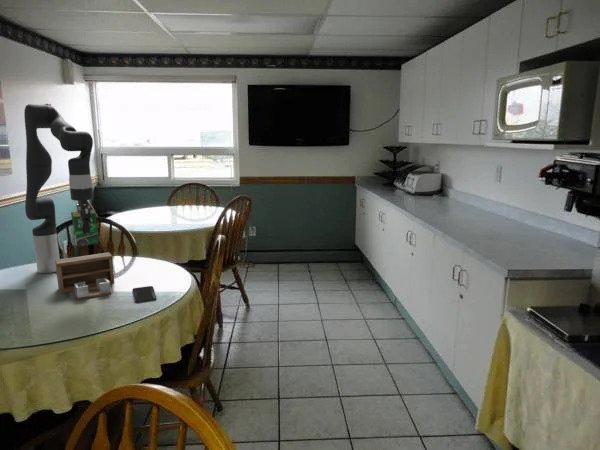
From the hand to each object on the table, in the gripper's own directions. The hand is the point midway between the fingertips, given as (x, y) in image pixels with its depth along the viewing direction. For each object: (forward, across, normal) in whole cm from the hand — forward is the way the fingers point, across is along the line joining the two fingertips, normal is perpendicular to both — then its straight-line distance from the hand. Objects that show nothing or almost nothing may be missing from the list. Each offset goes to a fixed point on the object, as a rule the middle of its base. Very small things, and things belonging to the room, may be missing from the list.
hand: (85, 232), depth 163 cm
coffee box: (+5, 0, 0) cm, 5 cm away
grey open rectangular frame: (+25, 0, 0) cm, 25 cm away
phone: (+26, +12, +16) cm, 33 cm away
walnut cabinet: (+25, -6, 0) cm, 26 cm away
